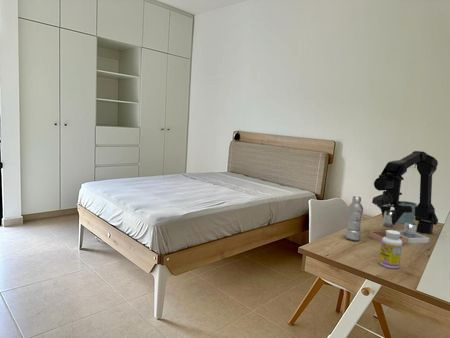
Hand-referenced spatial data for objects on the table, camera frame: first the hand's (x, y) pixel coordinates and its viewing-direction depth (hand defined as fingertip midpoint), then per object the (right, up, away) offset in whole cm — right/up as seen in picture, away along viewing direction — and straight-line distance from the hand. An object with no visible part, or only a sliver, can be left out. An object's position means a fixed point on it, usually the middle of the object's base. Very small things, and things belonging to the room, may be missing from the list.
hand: (389, 222), depth 144 cm
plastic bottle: (-17, -8, 0) cm, 19 cm away
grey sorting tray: (+5, -9, +2) cm, 11 cm away
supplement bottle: (-15, -11, -28) cm, 33 cm away
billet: (+11, -8, +3) cm, 14 cm away
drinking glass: (+28, -7, +37) cm, 47 cm away
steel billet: (0, -2, 0) cm, 2 cm away
